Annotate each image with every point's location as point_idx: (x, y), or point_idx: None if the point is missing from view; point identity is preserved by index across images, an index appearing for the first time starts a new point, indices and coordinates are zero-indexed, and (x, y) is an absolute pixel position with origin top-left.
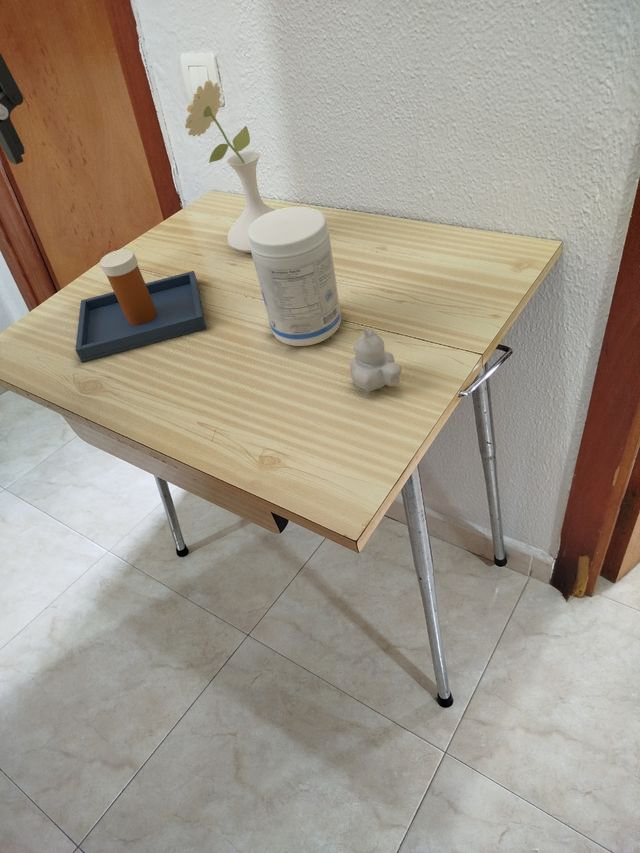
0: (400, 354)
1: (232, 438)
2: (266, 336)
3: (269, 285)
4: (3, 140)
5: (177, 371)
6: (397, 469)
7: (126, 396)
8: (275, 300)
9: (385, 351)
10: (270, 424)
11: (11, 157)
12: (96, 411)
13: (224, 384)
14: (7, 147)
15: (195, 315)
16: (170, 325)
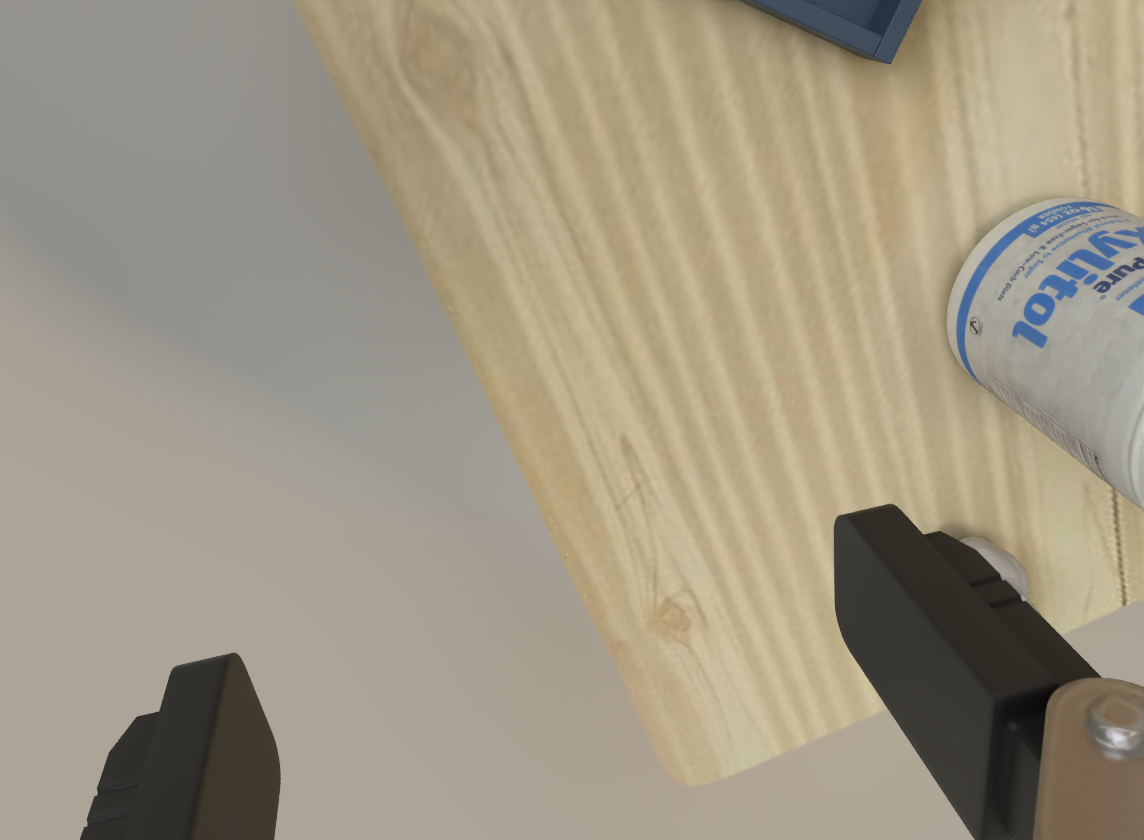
0: (1053, 521)
1: (654, 527)
2: (944, 246)
3: (1059, 412)
4: (911, 706)
5: (685, 205)
6: (811, 736)
7: (518, 204)
8: (1029, 398)
9: (1026, 591)
10: (735, 538)
11: (853, 612)
12: (418, 205)
13: (744, 353)
14: (886, 683)
15: (881, 38)
16: (792, 20)
